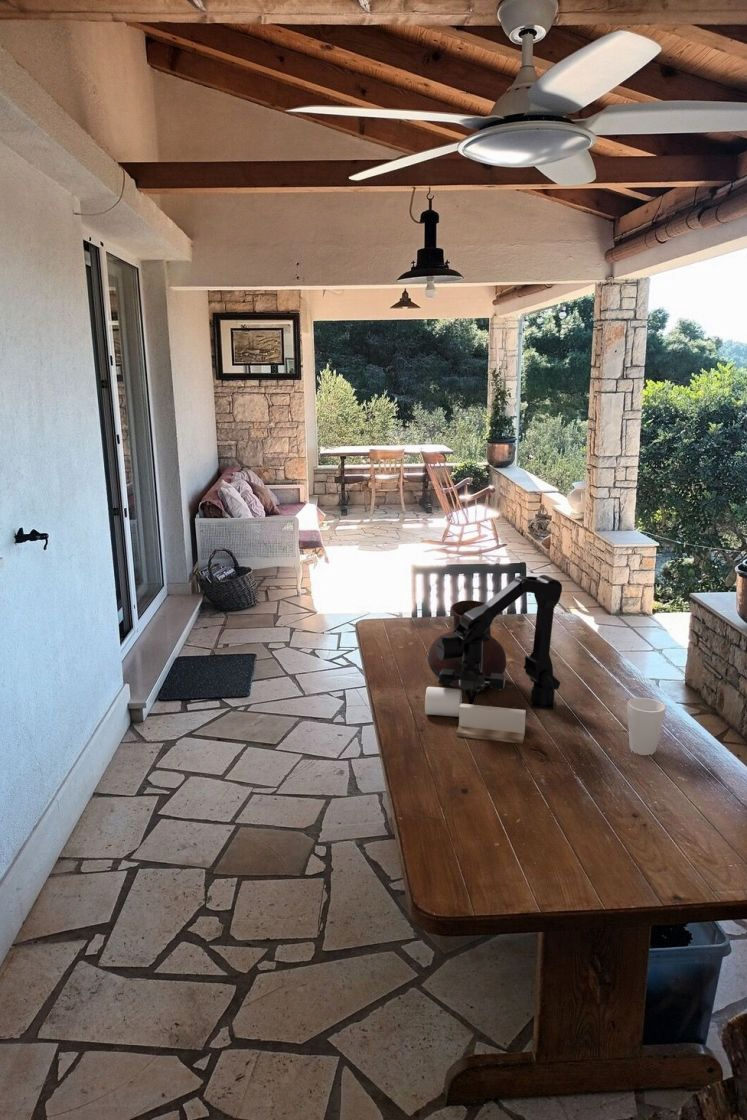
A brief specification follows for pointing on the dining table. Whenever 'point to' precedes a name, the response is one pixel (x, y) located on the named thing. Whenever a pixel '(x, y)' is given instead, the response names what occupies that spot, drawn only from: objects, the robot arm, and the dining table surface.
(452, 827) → the dining table surface
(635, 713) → the foam cup
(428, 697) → the mug
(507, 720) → the screen
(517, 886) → the dining table surface
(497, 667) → the jug
